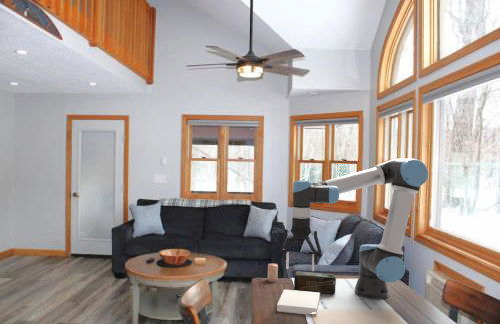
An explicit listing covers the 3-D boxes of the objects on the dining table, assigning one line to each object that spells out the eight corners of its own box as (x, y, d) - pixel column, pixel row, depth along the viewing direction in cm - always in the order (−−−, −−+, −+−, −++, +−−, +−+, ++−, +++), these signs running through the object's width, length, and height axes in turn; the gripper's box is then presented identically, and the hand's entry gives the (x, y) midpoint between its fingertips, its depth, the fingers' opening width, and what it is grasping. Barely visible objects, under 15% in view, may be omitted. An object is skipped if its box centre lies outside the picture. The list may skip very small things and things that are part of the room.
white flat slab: (319, 299, 183) (319, 292, 183) (316, 316, 164) (317, 308, 164) (283, 295, 187) (284, 289, 187) (276, 311, 167) (277, 304, 167)
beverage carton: (334, 290, 195) (335, 295, 189) (294, 287, 199) (293, 291, 192) (335, 274, 195) (336, 277, 189) (294, 270, 199) (294, 274, 192)
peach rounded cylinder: (278, 279, 212) (278, 263, 212) (276, 282, 207) (277, 266, 207) (268, 278, 213) (268, 263, 213) (266, 281, 208) (267, 265, 208)
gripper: (328, 217, 176) (327, 269, 176) (276, 214, 181) (275, 265, 181) (328, 219, 169) (327, 274, 169) (273, 216, 174) (272, 269, 174)
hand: (300, 269), depth 175 cm, fingers open, 10 cm apart
